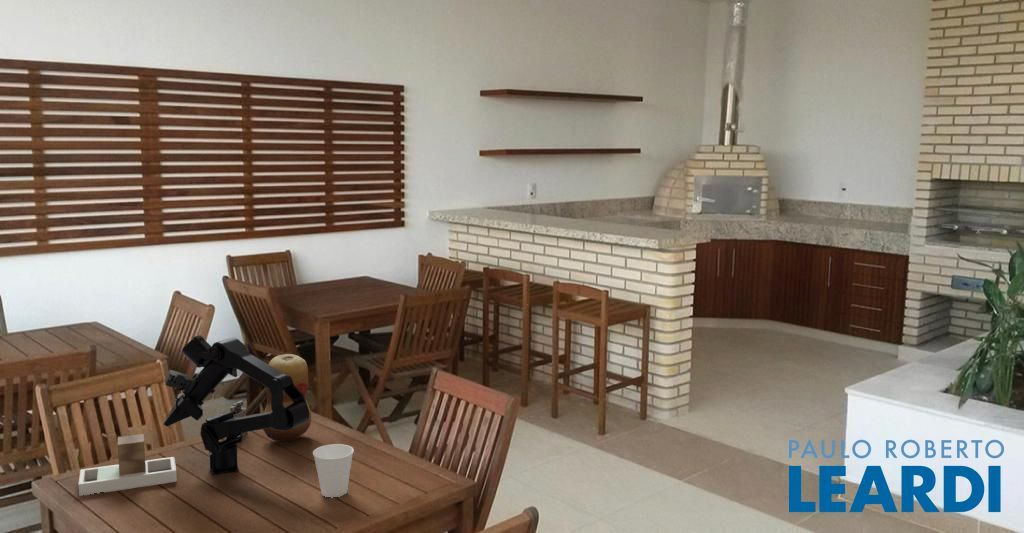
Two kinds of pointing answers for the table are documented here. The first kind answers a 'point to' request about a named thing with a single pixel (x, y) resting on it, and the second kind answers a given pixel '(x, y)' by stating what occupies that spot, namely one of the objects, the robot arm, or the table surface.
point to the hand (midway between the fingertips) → (164, 425)
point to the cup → (333, 468)
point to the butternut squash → (299, 375)
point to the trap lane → (126, 477)
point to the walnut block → (131, 454)
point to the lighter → (238, 410)
